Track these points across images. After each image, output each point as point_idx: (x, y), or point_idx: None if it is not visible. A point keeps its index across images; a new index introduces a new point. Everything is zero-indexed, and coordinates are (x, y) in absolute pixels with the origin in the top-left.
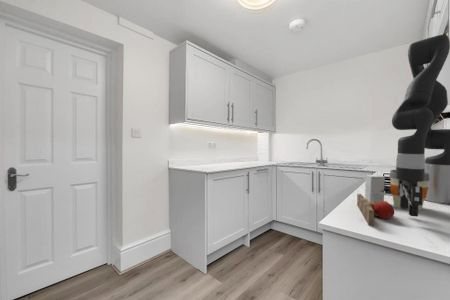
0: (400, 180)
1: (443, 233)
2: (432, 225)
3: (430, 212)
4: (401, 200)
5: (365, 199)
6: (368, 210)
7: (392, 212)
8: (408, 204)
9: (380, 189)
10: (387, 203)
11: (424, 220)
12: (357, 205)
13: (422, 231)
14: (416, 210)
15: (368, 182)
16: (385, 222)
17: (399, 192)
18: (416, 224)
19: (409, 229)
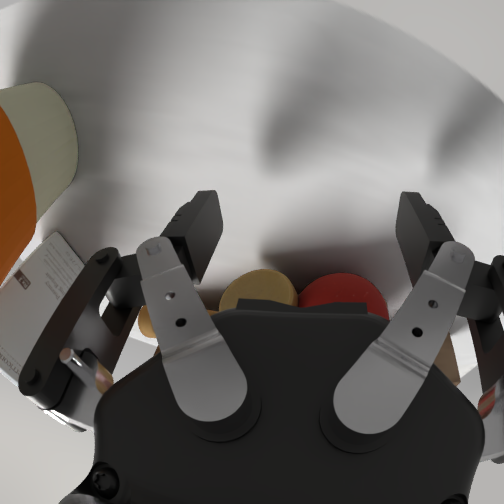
0: (78, 426)
1: (489, 97)
2: (373, 78)
3: (60, 44)
4: (202, 268)
5: (151, 334)
6: None
7: (382, 302)
8: (57, 153)
9: (24, 295)
10: None
11: (273, 86)
12: None
13: (487, 187)
14: (444, 232)
15: None
16: (404, 294)
17: (134, 316)
18: (394, 167)
19: (473, 232)
